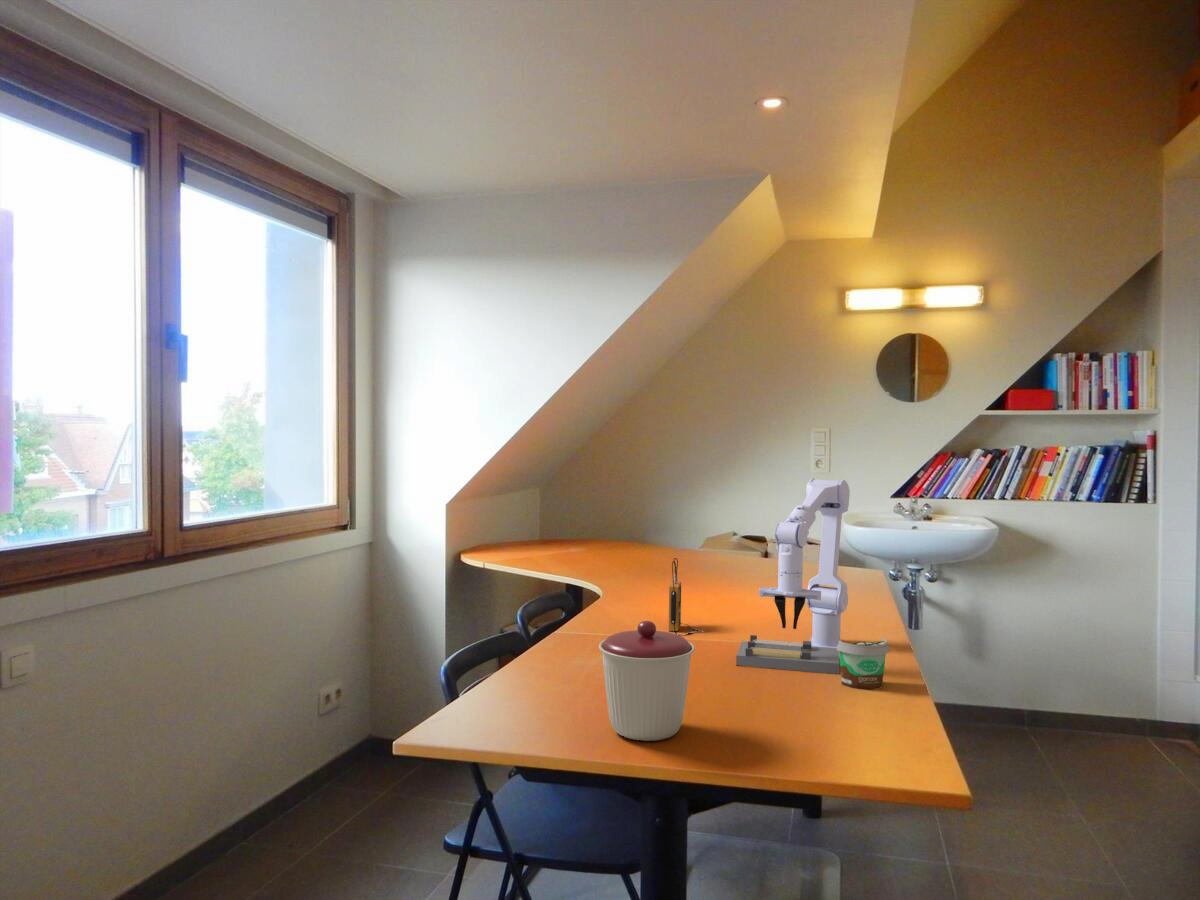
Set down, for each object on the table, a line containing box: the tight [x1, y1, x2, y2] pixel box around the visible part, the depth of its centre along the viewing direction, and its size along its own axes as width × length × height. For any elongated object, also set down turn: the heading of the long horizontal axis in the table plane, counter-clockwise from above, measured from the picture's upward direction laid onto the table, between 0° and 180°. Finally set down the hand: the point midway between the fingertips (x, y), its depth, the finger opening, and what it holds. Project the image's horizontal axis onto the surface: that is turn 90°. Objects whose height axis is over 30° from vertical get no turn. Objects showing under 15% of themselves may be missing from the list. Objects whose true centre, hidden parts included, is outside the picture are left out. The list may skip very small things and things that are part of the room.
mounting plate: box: [735, 634, 840, 675], centre depth 208 cm, size 14×24×4 cm, turn 75°
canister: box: [598, 620, 696, 742], centre depth 160 cm, size 18×18×21 cm
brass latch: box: [750, 647, 801, 659], centre depth 205 cm, size 12×4×1 cm, turn 75°
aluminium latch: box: [753, 638, 803, 650], centre depth 213 cm, size 12×4×1 cm, turn 75°
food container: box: [836, 637, 890, 691], centre depth 189 cm, size 12×6×10 cm, turn 105°
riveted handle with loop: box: [668, 557, 705, 635], centre depth 239 cm, size 15×10×20 cm
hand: (789, 627), depth 204 cm, fingers closed
